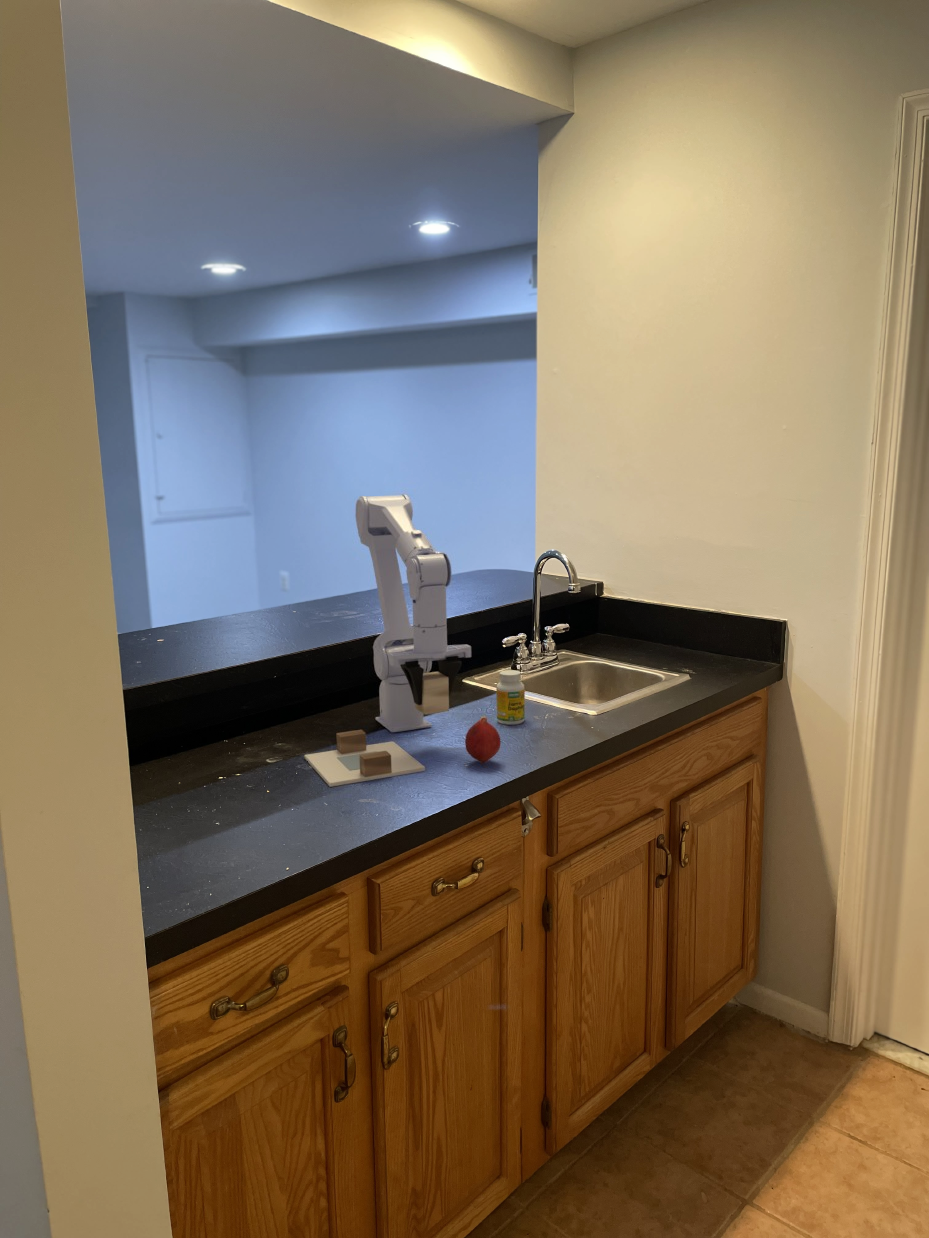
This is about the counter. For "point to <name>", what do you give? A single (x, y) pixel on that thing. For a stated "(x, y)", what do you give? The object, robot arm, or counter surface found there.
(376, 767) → the walnut blocks
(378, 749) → the board
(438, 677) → the maple block
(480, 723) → the onion
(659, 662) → the counter surface
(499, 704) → the supplement bottle
